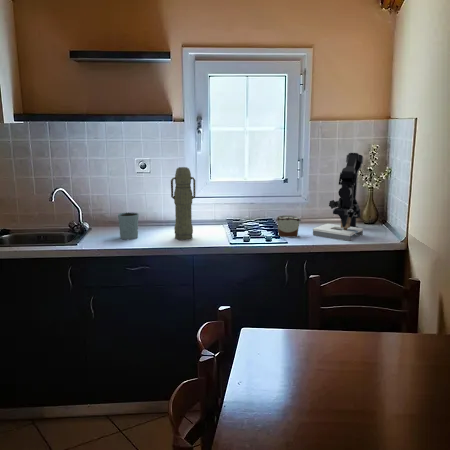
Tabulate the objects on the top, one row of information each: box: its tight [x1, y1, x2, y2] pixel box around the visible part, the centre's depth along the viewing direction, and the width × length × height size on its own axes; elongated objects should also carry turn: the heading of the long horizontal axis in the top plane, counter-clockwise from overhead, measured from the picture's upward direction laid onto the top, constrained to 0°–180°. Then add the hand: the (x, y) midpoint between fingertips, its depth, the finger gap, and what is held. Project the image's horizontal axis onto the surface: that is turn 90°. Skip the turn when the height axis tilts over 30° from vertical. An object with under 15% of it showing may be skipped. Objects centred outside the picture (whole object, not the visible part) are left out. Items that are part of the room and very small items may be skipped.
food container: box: [276, 214, 302, 238], centre depth 270 cm, size 12×6×10 cm, turn 84°
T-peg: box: [340, 217, 351, 230], centre depth 268 cm, size 4×4×9 cm
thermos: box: [170, 166, 196, 241], centre depth 260 cm, size 9×12×35 cm
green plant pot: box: [117, 212, 140, 241], centre depth 263 cm, size 10×10×12 cm
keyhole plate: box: [312, 223, 364, 242], centre depth 271 cm, size 16×20×4 cm
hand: (345, 226), depth 268 cm, fingers closed on T-peg, 3 cm apart
